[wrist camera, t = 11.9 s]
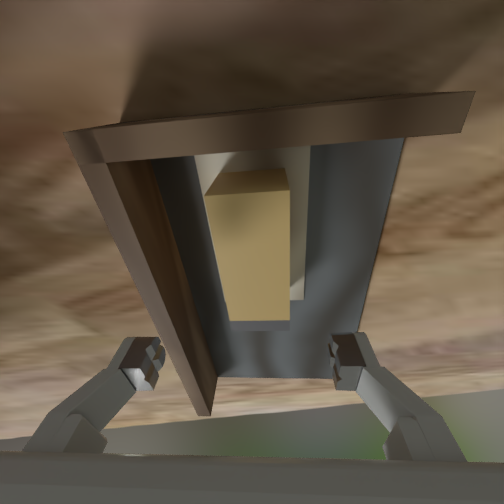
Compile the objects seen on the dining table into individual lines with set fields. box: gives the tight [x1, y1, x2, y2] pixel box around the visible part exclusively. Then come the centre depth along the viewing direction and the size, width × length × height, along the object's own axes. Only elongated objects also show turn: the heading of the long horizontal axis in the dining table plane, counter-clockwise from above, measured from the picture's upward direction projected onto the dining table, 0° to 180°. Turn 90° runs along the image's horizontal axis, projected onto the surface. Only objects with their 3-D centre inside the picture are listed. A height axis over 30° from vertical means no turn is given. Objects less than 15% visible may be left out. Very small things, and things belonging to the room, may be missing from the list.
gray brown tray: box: [63, 91, 476, 416], centre depth 20 cm, size 18×30×5 cm, turn 5°
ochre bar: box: [204, 168, 290, 331], centre depth 17 cm, size 11×4×4 cm, turn 5°
